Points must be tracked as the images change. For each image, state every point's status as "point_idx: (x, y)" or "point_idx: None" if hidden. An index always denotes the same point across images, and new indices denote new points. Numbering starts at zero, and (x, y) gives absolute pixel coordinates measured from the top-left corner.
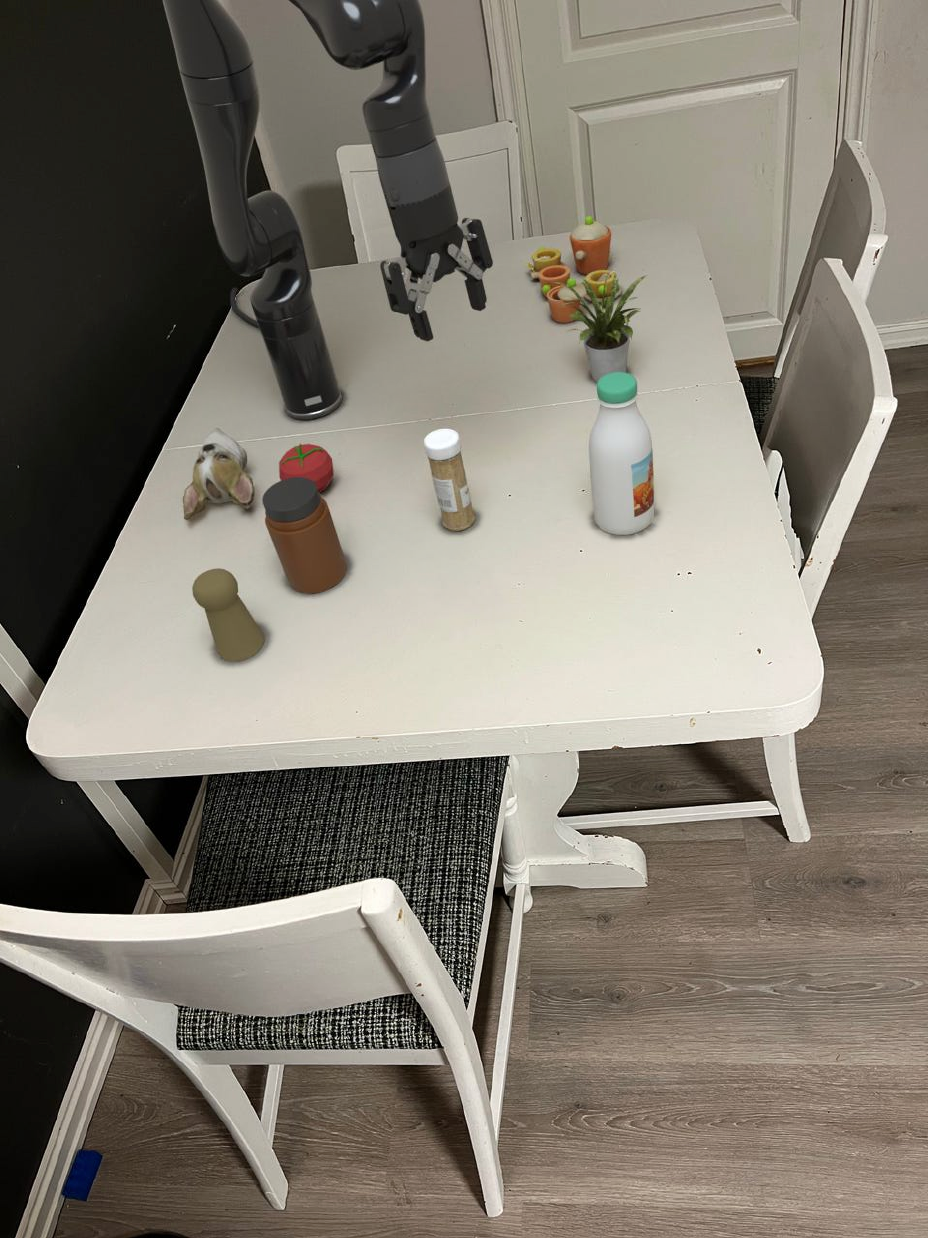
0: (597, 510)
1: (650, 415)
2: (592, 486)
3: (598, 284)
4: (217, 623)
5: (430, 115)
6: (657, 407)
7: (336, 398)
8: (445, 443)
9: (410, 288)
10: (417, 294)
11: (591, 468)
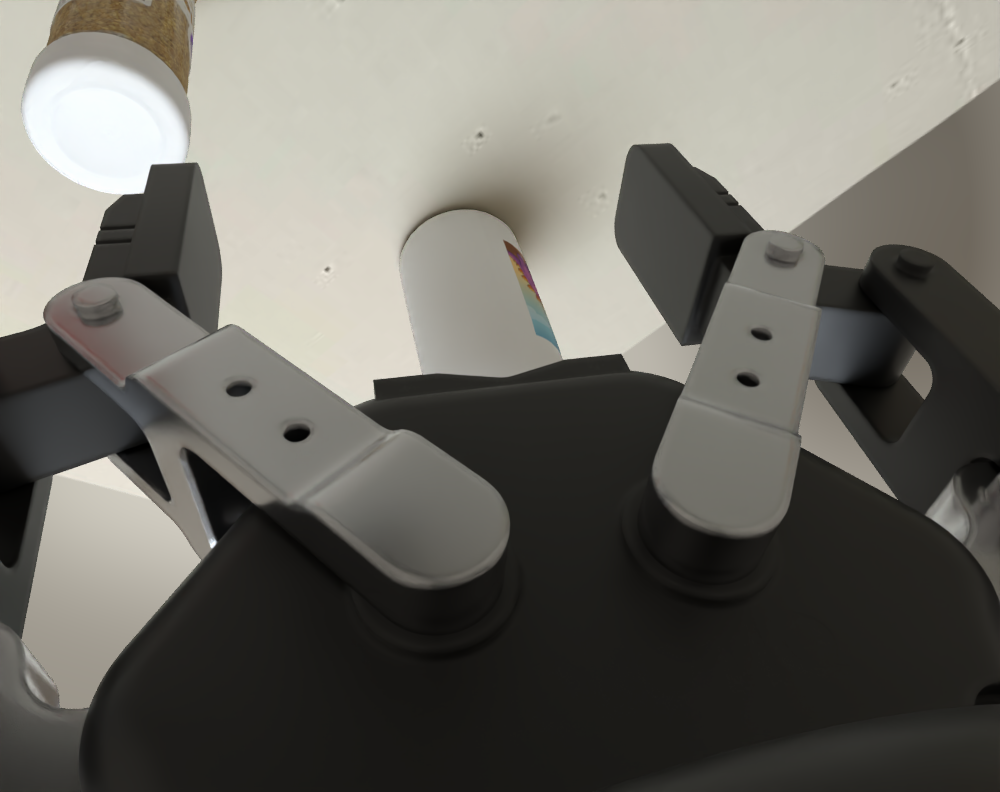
0: (406, 283)
1: (815, 39)
2: (420, 308)
3: None
4: None
5: None
6: (853, 28)
7: None
8: (106, 178)
9: (150, 434)
10: (161, 508)
11: (428, 345)
